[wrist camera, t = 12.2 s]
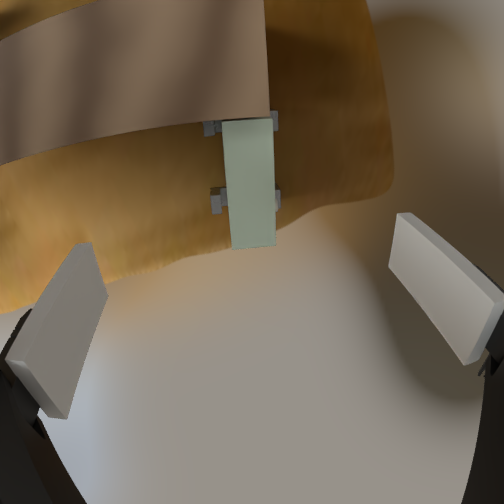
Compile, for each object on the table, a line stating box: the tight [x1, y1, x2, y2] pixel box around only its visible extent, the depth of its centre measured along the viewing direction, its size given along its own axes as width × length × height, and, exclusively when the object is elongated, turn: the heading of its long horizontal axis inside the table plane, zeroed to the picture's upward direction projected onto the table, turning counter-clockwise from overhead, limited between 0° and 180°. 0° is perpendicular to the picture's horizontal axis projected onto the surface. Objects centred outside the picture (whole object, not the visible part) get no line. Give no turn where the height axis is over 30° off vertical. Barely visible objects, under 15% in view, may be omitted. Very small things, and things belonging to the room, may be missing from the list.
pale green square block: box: [221, 116, 278, 250], centre depth 27 cm, size 4×10×10 cm, turn 3°
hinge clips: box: [203, 109, 281, 214], centre depth 31 cm, size 7×10×2 cm
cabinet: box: [0, 0, 270, 165], centre depth 21 cm, size 22×9×14 cm, turn 93°
